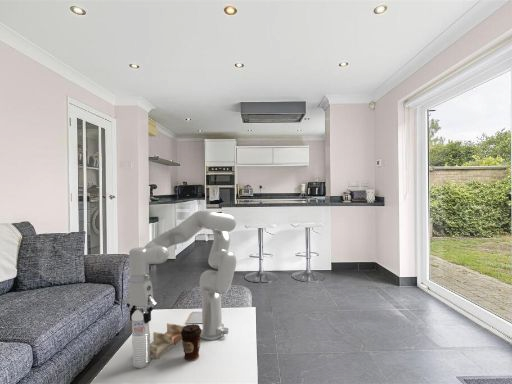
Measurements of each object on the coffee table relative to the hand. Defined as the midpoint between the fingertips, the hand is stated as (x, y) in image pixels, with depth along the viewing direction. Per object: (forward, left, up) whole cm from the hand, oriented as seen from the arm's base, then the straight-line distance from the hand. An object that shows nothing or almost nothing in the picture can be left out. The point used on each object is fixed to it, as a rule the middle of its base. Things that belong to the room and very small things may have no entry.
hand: (140, 320), depth 120 cm
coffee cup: (-17, -11, -18) cm, 27 cm away
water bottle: (0, 0, -18) cm, 18 cm away
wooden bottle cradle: (+2, -15, -18) cm, 24 cm away
